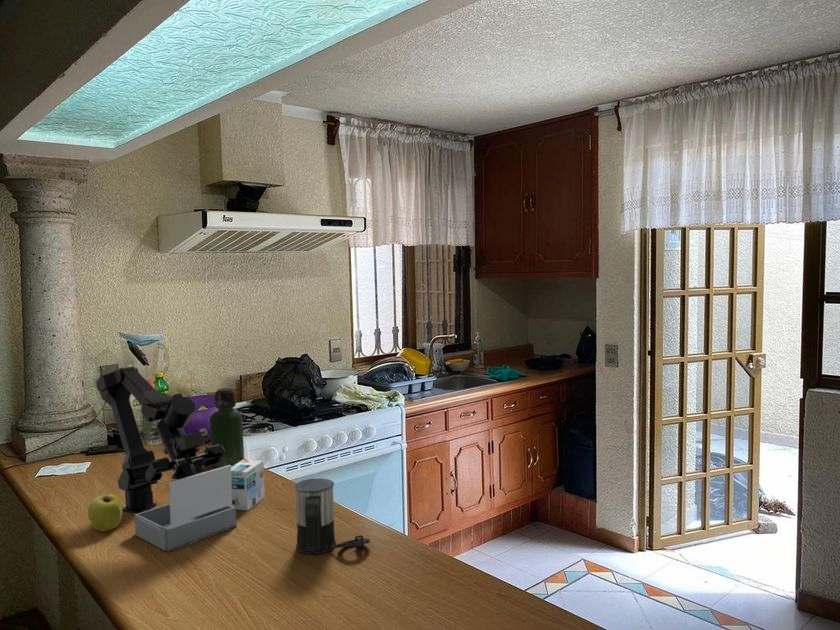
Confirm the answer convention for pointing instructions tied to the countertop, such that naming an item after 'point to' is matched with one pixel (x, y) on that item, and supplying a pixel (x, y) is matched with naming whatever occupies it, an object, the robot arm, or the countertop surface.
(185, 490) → the grey box lid
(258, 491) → the light bulb box
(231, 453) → the green bottle
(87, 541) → the countertop surface
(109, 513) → the apple
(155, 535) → the grey shallow open box
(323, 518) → the milk frother
